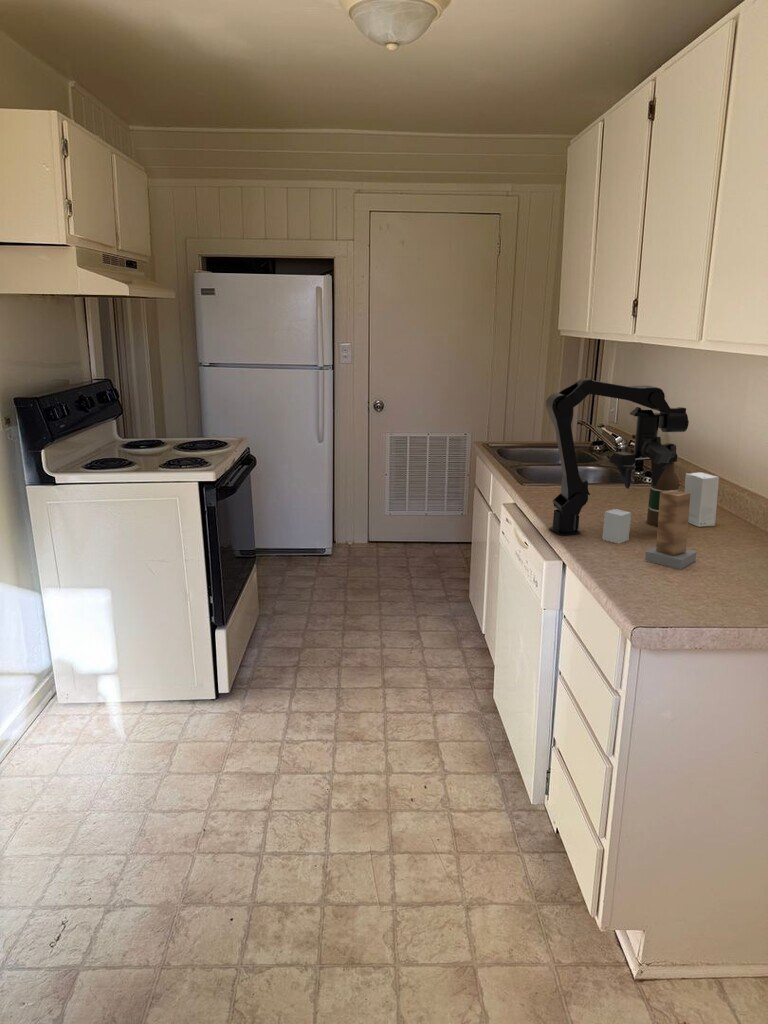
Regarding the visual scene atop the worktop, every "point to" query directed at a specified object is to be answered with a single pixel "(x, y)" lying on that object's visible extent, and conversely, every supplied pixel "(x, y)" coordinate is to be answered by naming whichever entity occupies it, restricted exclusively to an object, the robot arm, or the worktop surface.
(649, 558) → the greyblue square slab
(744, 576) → the worktop surface
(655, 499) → the beer bottle
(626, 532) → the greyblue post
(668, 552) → the walnut post
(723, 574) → the worktop surface
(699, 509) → the skincare box
